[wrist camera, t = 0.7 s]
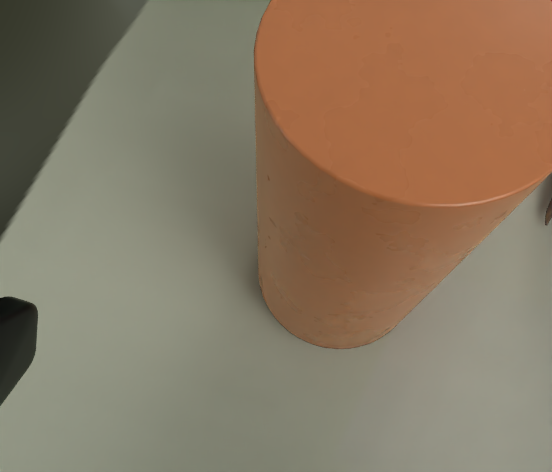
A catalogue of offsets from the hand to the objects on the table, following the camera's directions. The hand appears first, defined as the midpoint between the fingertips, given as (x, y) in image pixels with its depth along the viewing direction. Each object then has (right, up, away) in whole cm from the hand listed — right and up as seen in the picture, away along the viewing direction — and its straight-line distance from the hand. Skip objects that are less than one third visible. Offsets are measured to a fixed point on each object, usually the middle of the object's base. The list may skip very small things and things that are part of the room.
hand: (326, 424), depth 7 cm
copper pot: (+2, +2, +16) cm, 16 cm away
